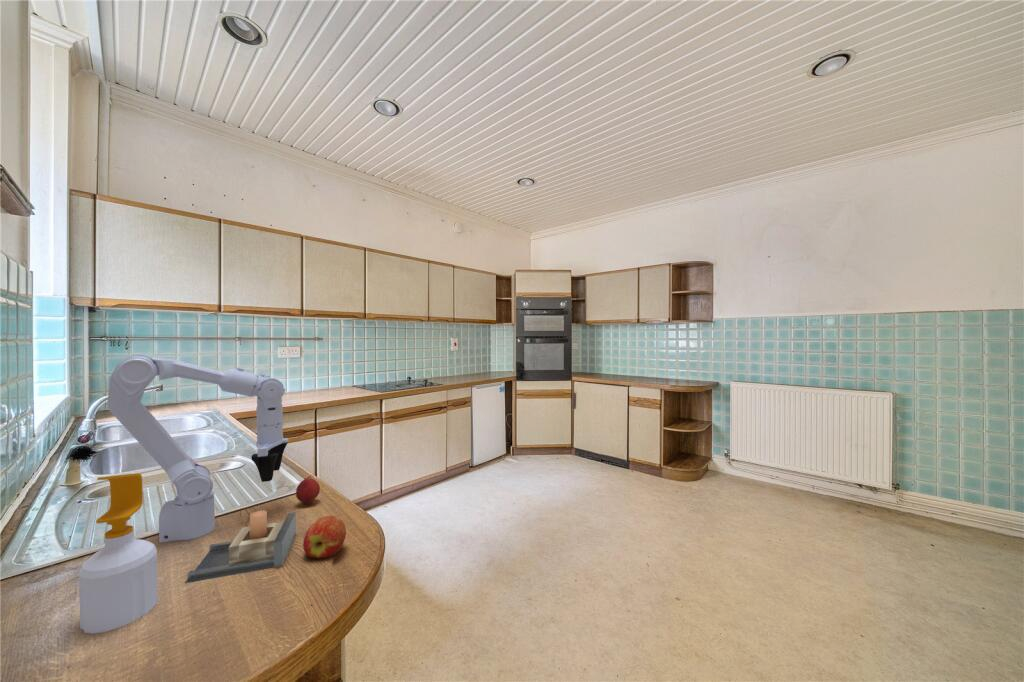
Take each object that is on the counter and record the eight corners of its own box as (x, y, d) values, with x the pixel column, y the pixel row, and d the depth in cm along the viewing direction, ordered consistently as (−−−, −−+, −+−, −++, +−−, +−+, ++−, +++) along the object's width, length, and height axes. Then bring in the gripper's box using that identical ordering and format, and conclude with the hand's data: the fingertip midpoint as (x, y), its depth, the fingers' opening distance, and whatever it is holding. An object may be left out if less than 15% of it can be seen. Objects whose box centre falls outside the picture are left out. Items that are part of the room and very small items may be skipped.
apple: (297, 567, 78) (297, 528, 77) (315, 544, 86) (314, 509, 86) (338, 565, 78) (337, 527, 78) (351, 542, 87) (351, 508, 86)
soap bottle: (66, 647, 58) (61, 487, 57) (101, 607, 66) (97, 467, 66) (142, 629, 62) (139, 478, 61) (167, 593, 70) (164, 460, 69)
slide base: (184, 588, 71) (184, 556, 71) (213, 550, 84) (213, 523, 83) (282, 571, 76) (282, 541, 76) (296, 537, 89) (295, 512, 89)
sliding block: (229, 567, 76) (228, 547, 75) (242, 545, 83) (242, 527, 83) (275, 559, 78) (275, 540, 78) (284, 539, 86) (284, 521, 86)
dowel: (248, 551, 79) (248, 518, 79) (252, 544, 81) (251, 512, 81) (265, 548, 80) (265, 515, 80) (268, 541, 83) (268, 509, 82)
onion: (309, 509, 103) (309, 480, 102) (291, 507, 104) (290, 478, 104) (324, 500, 108) (324, 472, 108) (306, 498, 109) (306, 471, 109)
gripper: (280, 429, 94) (281, 483, 94) (293, 416, 107) (294, 464, 108) (246, 431, 91) (248, 487, 92) (264, 418, 105) (265, 467, 105)
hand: (271, 475), depth 99 cm, fingers open, 7 cm apart
